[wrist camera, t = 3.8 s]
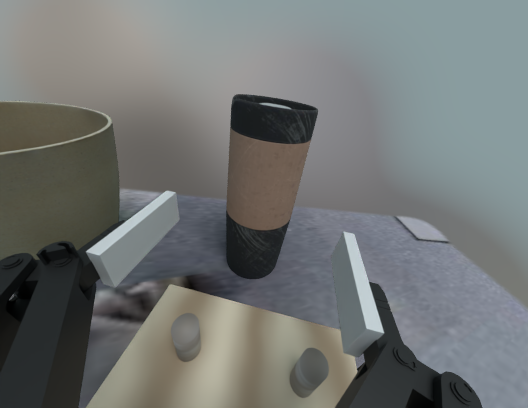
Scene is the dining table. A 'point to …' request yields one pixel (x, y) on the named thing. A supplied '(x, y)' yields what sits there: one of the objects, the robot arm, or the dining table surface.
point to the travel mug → (263, 178)
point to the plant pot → (55, 176)
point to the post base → (226, 359)
